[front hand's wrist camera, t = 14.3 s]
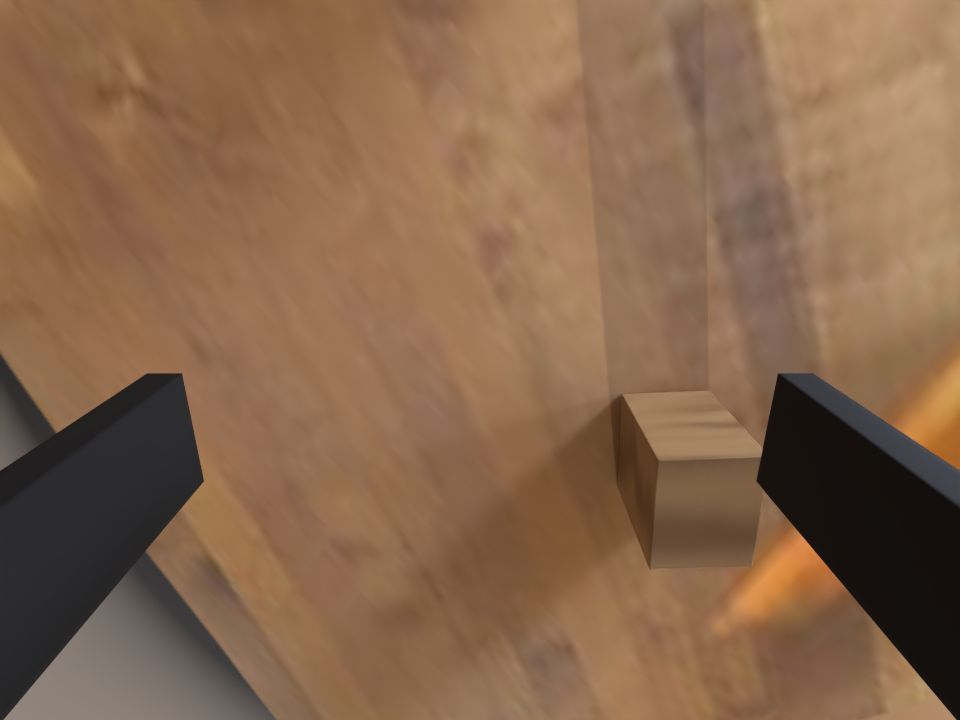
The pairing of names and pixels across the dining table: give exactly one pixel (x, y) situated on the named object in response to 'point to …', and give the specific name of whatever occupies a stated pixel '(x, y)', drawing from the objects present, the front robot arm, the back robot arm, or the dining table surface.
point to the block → (688, 480)
